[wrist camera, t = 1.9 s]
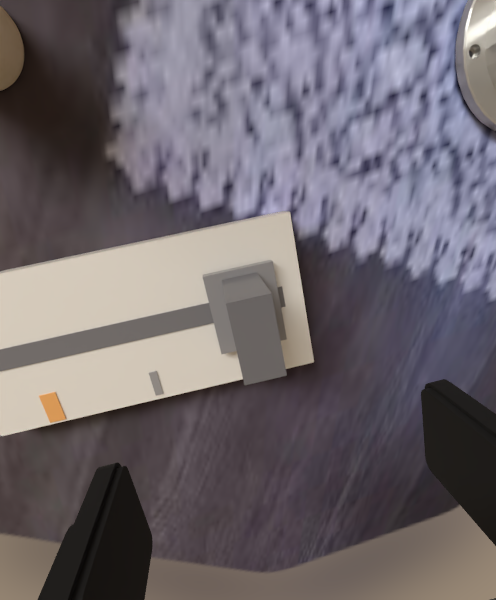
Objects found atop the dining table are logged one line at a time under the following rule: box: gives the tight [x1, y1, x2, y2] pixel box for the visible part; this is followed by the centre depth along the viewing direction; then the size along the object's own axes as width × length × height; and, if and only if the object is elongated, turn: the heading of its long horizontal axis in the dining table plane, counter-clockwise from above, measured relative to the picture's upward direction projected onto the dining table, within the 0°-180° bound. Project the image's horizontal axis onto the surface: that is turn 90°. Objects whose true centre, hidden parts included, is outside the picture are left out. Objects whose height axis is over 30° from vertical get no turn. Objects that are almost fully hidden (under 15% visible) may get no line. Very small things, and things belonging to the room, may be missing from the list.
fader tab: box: [203, 260, 287, 385], centre depth 22 cm, size 5×6×7 cm
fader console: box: [0, 211, 314, 436], centre depth 27 cm, size 25×12×3 cm, turn 101°
